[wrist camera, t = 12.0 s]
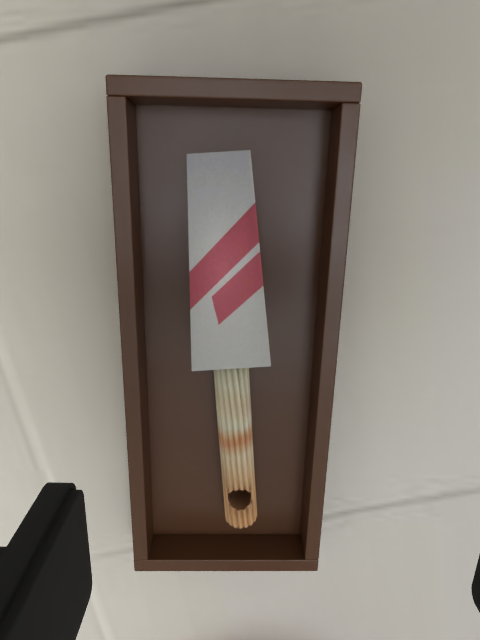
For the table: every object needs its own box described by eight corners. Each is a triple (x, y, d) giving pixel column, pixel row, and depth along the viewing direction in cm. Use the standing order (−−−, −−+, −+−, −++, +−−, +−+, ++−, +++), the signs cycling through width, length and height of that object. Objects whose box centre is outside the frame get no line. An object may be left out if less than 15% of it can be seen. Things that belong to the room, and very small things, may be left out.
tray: (121, 88, 21) (104, 73, 18) (345, 95, 21) (362, 81, 18) (143, 534, 28) (134, 571, 25) (309, 534, 28) (317, 571, 26)
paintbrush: (266, 148, 18) (274, 534, 24) (261, 150, 20) (270, 498, 27) (170, 152, 18) (205, 538, 24) (177, 153, 20) (207, 502, 27)
